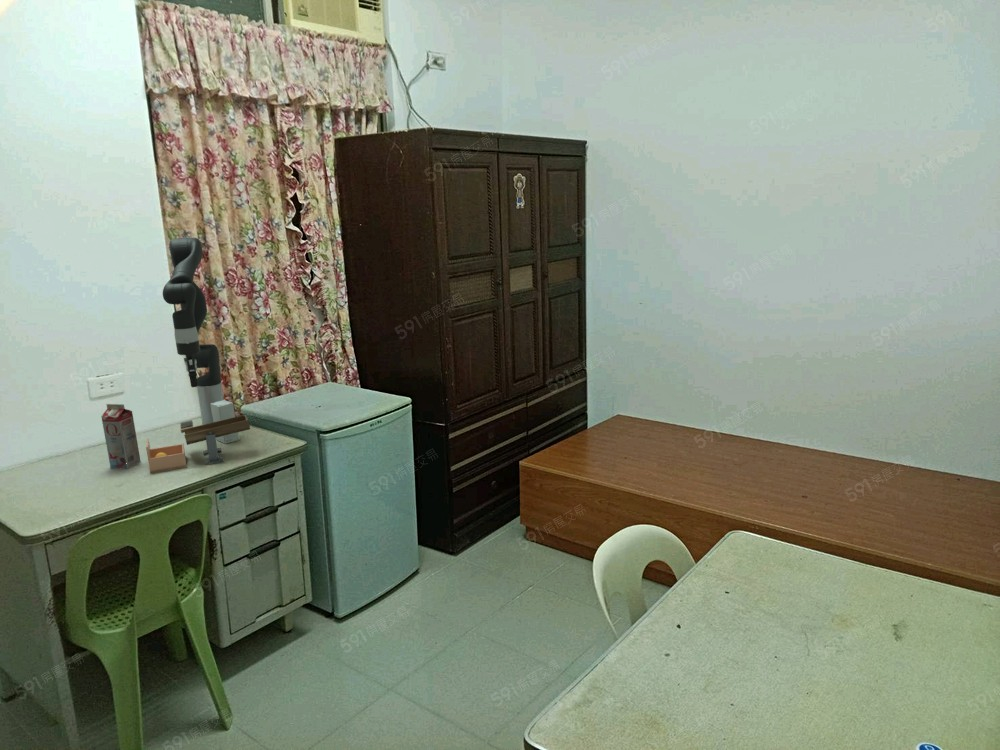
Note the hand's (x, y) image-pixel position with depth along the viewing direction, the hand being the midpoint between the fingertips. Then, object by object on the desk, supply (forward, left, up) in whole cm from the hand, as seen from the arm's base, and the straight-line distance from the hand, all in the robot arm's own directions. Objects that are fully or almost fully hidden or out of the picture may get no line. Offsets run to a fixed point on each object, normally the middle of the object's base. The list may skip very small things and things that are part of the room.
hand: (194, 383), depth 252 cm
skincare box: (-6, +9, -25) cm, 27 cm away
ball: (+12, -14, -22) cm, 28 cm away
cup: (+12, -12, -25) cm, 30 cm away
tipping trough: (+8, +5, -16) cm, 19 cm away
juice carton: (+4, -25, -25) cm, 36 cm away
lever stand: (+12, +3, -25) cm, 28 cm away
